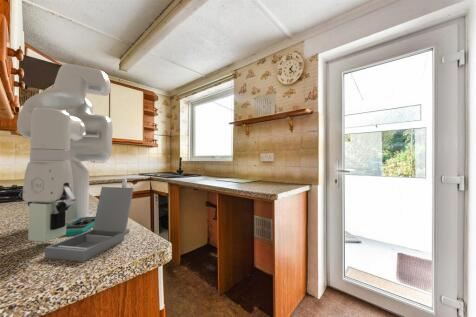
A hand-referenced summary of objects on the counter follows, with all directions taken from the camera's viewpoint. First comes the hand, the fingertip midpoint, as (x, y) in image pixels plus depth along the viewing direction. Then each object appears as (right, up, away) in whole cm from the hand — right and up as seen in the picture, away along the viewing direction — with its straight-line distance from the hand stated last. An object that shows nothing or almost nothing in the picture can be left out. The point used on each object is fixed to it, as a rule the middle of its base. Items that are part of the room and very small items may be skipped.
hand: (48, 226), depth 51 cm
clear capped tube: (+14, -6, +8) cm, 17 cm away
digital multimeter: (-2, -6, +13) cm, 14 cm away
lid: (+13, +3, +6) cm, 14 cm away
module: (0, -3, 0) cm, 3 cm away
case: (+12, -5, -2) cm, 13 cm away
